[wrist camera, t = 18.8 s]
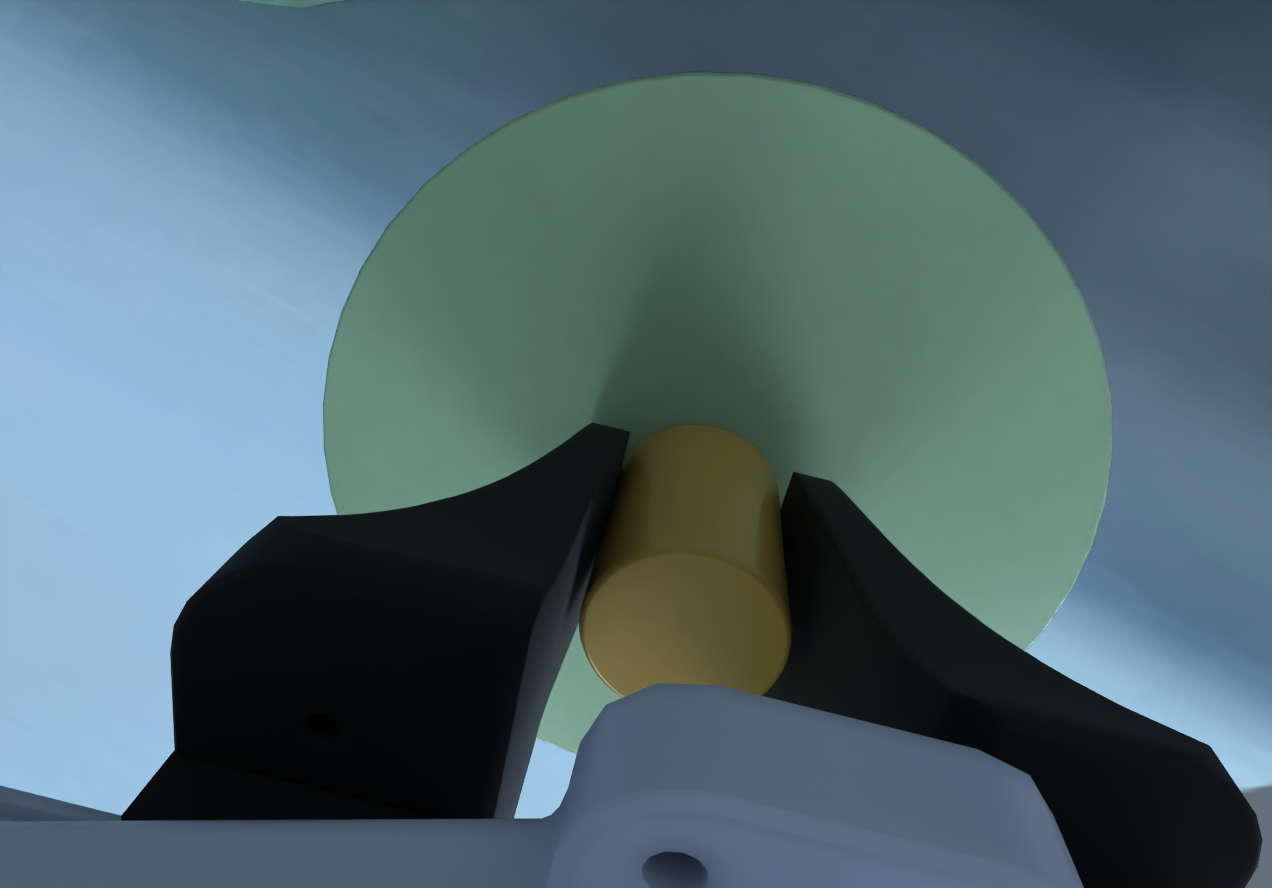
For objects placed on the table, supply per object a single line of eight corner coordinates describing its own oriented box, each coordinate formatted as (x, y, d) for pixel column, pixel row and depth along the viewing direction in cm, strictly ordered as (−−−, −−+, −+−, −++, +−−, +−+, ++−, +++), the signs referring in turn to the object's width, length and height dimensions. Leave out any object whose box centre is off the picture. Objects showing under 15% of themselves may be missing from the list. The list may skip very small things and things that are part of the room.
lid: (331, 654, 17) (197, 852, 13) (377, -24, 12) (169, -71, 7) (918, 799, 17) (980, 1048, 13) (1243, 186, 11) (1541, 263, 7)
